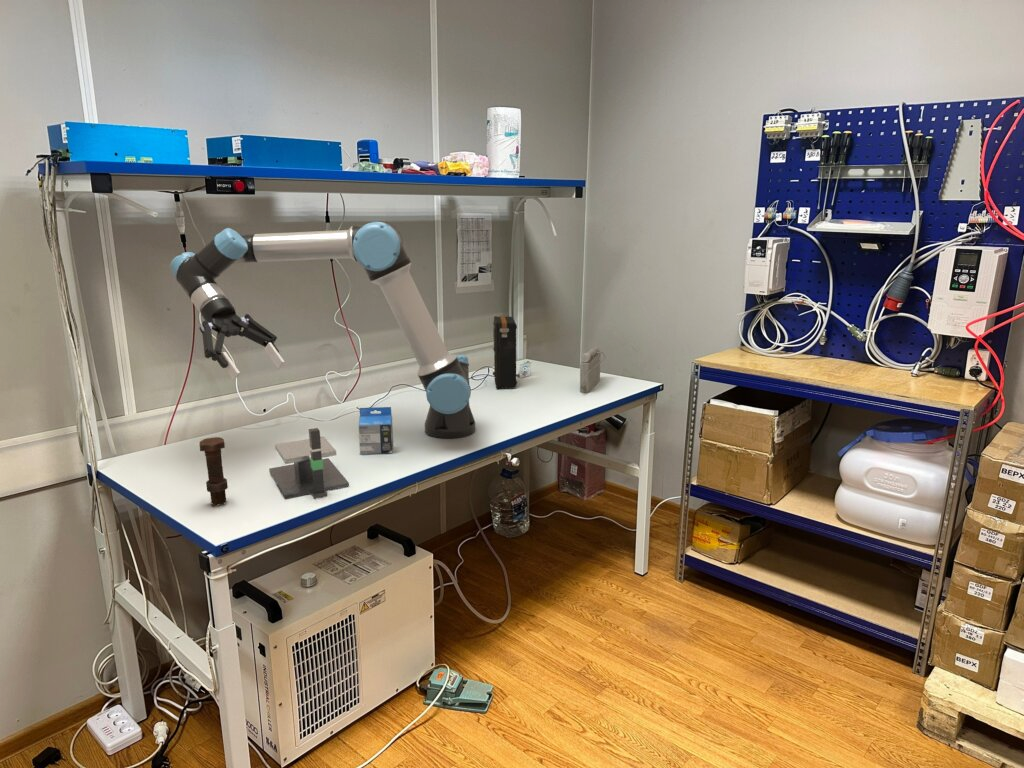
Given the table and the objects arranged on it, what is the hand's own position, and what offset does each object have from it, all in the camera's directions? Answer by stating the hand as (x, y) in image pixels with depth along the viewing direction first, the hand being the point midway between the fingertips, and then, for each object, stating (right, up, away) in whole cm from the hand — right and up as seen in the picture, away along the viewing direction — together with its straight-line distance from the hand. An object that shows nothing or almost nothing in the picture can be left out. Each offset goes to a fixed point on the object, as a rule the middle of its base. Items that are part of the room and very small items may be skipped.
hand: (259, 370), depth 171 cm
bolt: (-4, -31, -14) cm, 34 cm away
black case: (+60, -4, +88) cm, 106 cm away
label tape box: (+26, -22, +18) cm, 38 cm away
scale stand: (+13, -27, -2) cm, 30 cm away
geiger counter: (+91, -5, +83) cm, 123 cm away
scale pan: (+13, -26, -2) cm, 29 cm away
